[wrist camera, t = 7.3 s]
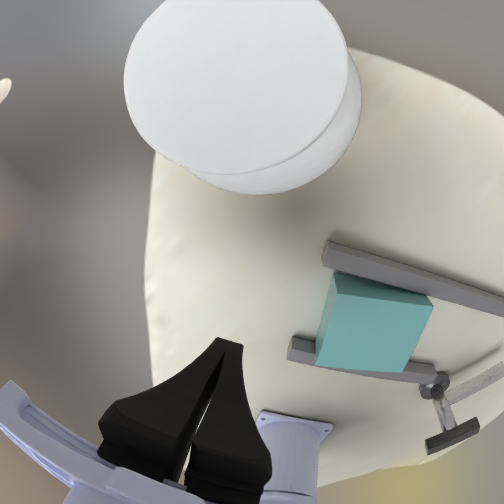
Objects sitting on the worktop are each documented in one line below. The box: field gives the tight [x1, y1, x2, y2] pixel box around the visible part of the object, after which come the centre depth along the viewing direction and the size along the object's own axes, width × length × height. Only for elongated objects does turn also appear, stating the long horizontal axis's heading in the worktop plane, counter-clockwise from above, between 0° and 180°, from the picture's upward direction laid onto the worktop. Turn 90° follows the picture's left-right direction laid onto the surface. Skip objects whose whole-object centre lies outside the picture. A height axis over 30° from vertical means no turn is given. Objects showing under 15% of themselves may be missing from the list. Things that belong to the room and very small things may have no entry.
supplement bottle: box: [124, 0, 362, 195], centre depth 10 cm, size 7×7×13 cm
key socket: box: [419, 372, 450, 399], centre depth 21 cm, size 3×3×1 cm
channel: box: [287, 241, 504, 385], centre depth 19 cm, size 9×19×2 cm, turn 78°
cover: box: [315, 273, 434, 373], centre depth 19 cm, size 6×7×3 cm
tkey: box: [425, 362, 504, 456], centre depth 16 cm, size 10×1×7 cm, turn 116°
